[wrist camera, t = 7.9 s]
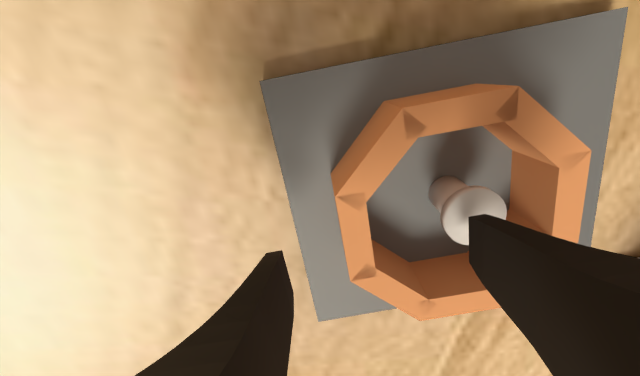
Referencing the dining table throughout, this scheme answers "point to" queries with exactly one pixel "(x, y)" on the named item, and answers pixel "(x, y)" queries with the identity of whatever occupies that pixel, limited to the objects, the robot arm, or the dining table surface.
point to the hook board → (434, 142)
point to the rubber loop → (525, 189)
